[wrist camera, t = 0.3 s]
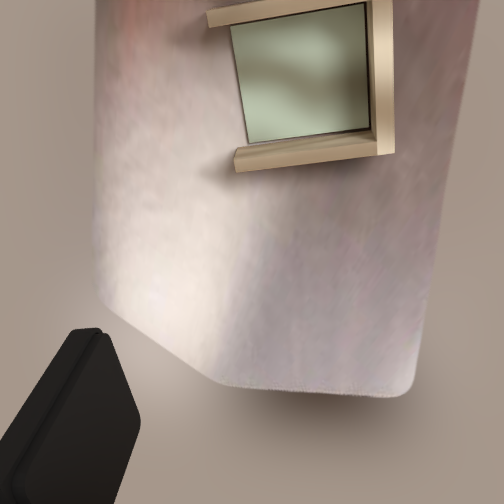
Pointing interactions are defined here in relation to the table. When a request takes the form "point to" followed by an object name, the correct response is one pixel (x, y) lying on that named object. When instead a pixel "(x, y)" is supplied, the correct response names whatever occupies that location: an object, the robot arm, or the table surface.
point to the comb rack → (312, 79)
